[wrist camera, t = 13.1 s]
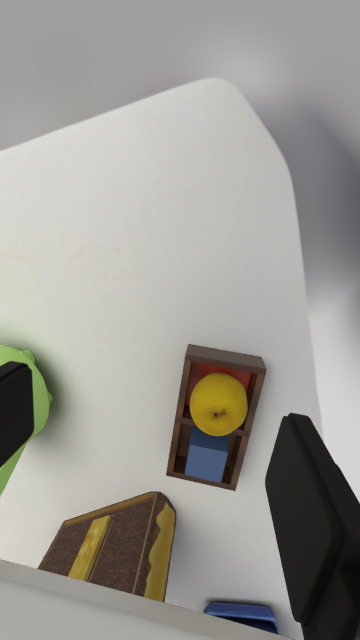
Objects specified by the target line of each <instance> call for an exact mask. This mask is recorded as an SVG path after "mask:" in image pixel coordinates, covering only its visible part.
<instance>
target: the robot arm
mask: <svg viewBox="0 0 360 640" xmlns="http://www.w3.org/2000/svg"><path fill="white" fill-rule="evenodd" d="M33 431H34V404H33V380H32V370H31V369H30V368H29V366H28V364H26V363H21V362H15V361H9V362H7V363H5V364H3V365H1V366H0V468H1V467H2V466H3V465H4V464H5V463H6V462H7V461H8V460H9V459H10V458H11V457H12V456H13V455H14V454H15V453H16V452H17V450H18V449H19V448H20V447H21V446H22V445H23V444H24V443H25V442H26V441H27V440H28V439H29V438H30V437H31V436H32V434H33ZM265 486H266V492H267V497H268V501H269V506H270V511H271V516H272V520H273V525H274V530H275V534H276V539H277V544H278V549H279V553H280V558H281V563H282V567H283V572H284V577H285V582H286V586H287V591H288V596H289V601H290V605H291V610H292V614H293V617H294V619H295V621H296V622H300V623H301V627H302V631H303V636H304V640H360V503H359V501H358V500H357V498H356V496H355V494H354V493H353V491H352V489H351V487H350V486H349V484H348V482H347V480H346V479H345V477H344V475H343V473H342V471H341V470H340V468H339V467H338V466H337V465H336V464H335V462H334V461H333V459H332V457H331V455H330V453H329V452H328V450H327V448H326V446H325V444H324V443H323V441H322V439H321V437H320V435H319V434H318V432H317V430H316V428H315V426H314V425H313V423H312V421H311V419H310V418H309V417H308V416H305V415H300V414H295V413H290V414H289V415H288V417H287V416H284V417H283V418H282V421H281V425H280V428H279V432H278V435H277V439H276V442H275V446H274V449H273V453H272V456H271V460H270V463H269V467H268V470H267V474H266V479H265ZM0 640H294V639H291V638H287V637H284V636H281V635H277V634H274V633H270V632H267V631H264V630H260V629H257V628H253V627H250V626H246V625H243V624H240V623H236V622H233V621H229V620H226V619H222V618H219V617H215V616H211V615H208V614H204V613H200V612H197V611H193V610H189V609H185V608H182V607H178V606H174V605H171V604H167V603H163V602H159V601H156V600H152V599H148V598H145V597H141V596H137V595H134V594H130V593H126V592H122V591H119V590H115V589H111V588H107V587H104V586H100V585H96V584H92V583H89V582H85V581H81V580H77V579H73V578H70V577H66V576H62V575H58V574H54V573H51V572H47V571H43V570H39V569H35V568H31V567H28V566H24V565H20V564H16V563H12V562H9V561H5V560H1V559H0Z"/></svg>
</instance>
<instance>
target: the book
mask: <svg viewBox="0 0 360 640" xmlns="http://www.w3.org/2000/svg"><path fill="white" fill-rule="evenodd" d="M175 524H176V511H175V509H174V507H173V506H172V504H171V503H170V501H169V500H168V498H167V497H166V496H164V495H163V494H162V493H160V492H149V493H146V494H143V495H140V496H137V497H134V498H131V499H128V500H125V501H122V502H119V503H116V504H113V505H110V506H107V507H105V508H102V509H99V510H96V511H93V512H90V513H87V514H84V515H81V516H78V517H75V518H72V519H69V520H66V521H64V522H63V524H62V526H61V528H60V530H59V531H58V533H57V535H56V537H55V539H54V540H53V542H52V544H51V546H50V547H49V549H48V551H47V553H46V555H45V556H44V558H43V560H42V562H41V564H40V565H39V567H38V569H39V570H43V571H47V572H51V573H54V574H58V575H62V576H66V577H70V578H73V579H77V580H81V581H85V582H89V583H92V584H96V585H100V586H104V587H107V588H111V589H115V590H119V591H122V592H126V593H130V594H134V595H137V596H141V597H145V598H148V599H152V600H156V601H159V602H163V603H164V602H165V594H166V587H167V580H168V573H169V566H170V559H171V552H172V545H173V538H174V531H175Z"/></svg>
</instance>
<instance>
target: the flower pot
mask: <svg viewBox="0 0 360 640" xmlns="http://www.w3.org/2000/svg"><path fill="white" fill-rule="evenodd" d="M204 614H208V615H211V616H215V617H219V618H222V619H226V620H229V621H233V622H236V623H240V624H243V625H246V626H250V627H253V628H257V629H260V630H264V631H267V632H270V633H274V634H277V635H279V632H278V624H277V619H276V617H275V615H274V613H273V612H272V611H271V610H270V609H269V608H268V607H264V606H257V605H246V604H232V603H211V604H209V605H208V606H207V607H206V609H205V611H204Z"/></svg>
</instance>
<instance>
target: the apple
mask: <svg viewBox="0 0 360 640" xmlns="http://www.w3.org/2000/svg"><path fill="white" fill-rule="evenodd" d="M247 409H248V405H247V396H246V392H245V389H244V387H243V385H242V384H241V383H240V382H239V381H238V380H236V379H235V378H234V377H232V376H230V375H228V374H224V373H211V374H209V375H207V376H206V377H204V378H203V379H201V380H200V381H199V382H198V383H197V385H196V386H195V388H194V390H193V392H192V395H191V399H190V412H191V415H192V418H193V420H194V422H195V424H196V425H197V427H198V428H199V429H200V430H202V431H203V432H204V433H206V434H209V435H213V436H224V435H227V434H229V433H231V432H232V431H234V430H235V429H237V428H238V427H239V426H240V425H241V424H242V423H243V421H244V419H245V417H246V414H247Z"/></svg>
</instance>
